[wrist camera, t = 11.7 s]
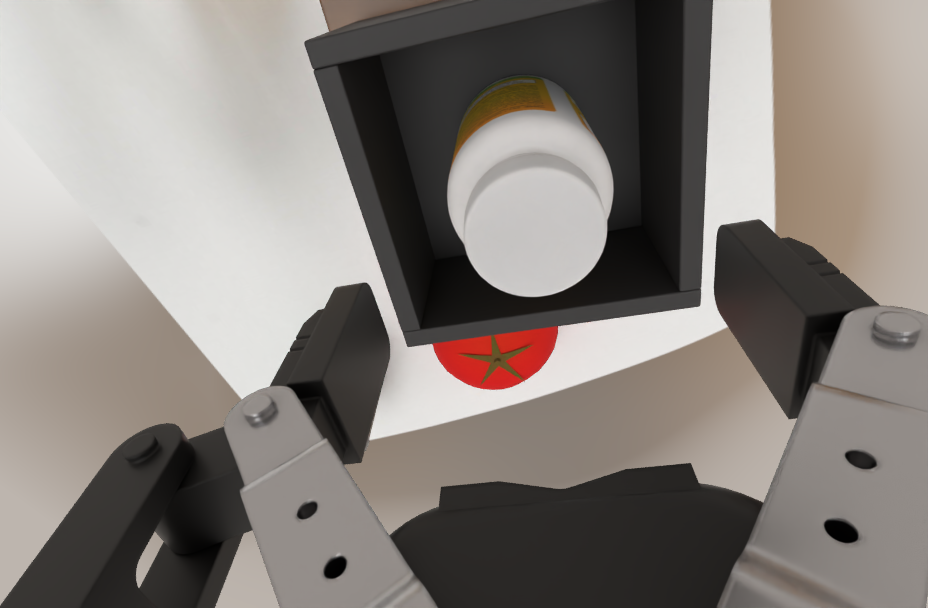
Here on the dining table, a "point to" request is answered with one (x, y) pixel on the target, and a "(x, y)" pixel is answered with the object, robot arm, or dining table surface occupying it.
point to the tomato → (497, 357)
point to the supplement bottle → (529, 187)
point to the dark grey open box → (602, 104)
